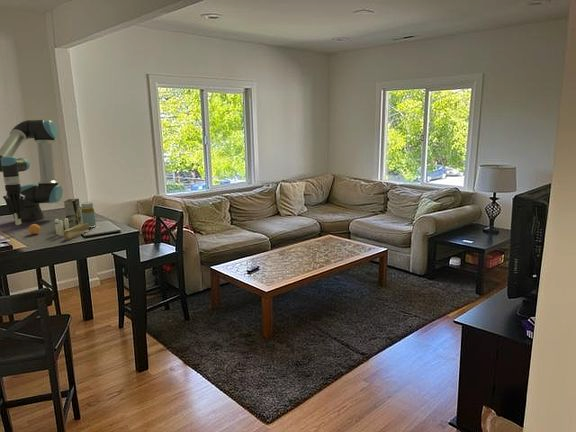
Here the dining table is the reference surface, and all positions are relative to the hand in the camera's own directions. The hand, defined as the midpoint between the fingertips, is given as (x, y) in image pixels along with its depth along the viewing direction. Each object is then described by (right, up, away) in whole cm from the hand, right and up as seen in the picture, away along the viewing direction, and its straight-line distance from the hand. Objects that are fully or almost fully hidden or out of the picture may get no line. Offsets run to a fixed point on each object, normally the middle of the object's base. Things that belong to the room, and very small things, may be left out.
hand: (18, 224), depth 252 cm
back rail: (+36, -6, -4) cm, 37 cm away
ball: (+9, -3, 0) cm, 10 cm away
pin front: (+24, -6, -2) cm, 25 cm away
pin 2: (+29, -6, -1) cm, 29 cm away
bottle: (+35, -2, +14) cm, 38 cm away
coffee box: (+23, -1, +20) cm, 30 cm away
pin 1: (+28, -7, -5) cm, 29 cm away
